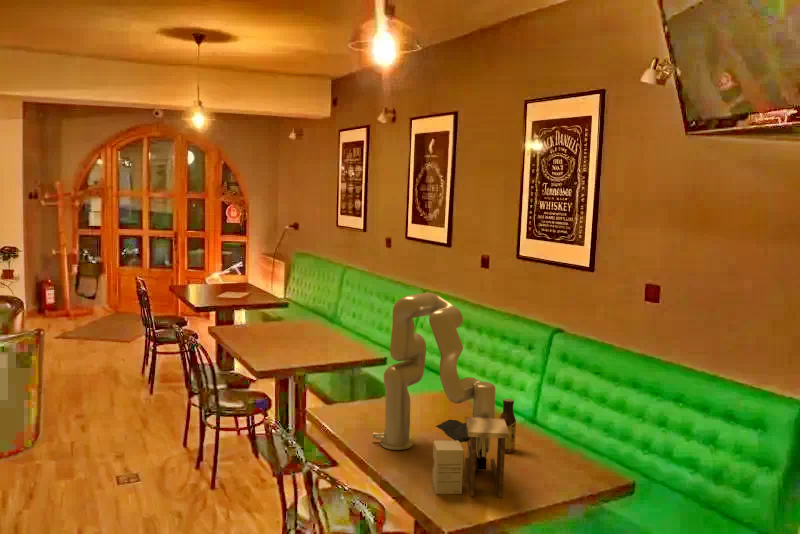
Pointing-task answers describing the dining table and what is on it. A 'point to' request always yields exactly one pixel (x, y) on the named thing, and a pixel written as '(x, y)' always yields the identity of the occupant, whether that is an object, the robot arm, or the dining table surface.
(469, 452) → the tin
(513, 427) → the sauce bottle
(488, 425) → the miniature wooden stool
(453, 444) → the supplement box
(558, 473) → the dining table surface
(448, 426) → the dark slate chunk
